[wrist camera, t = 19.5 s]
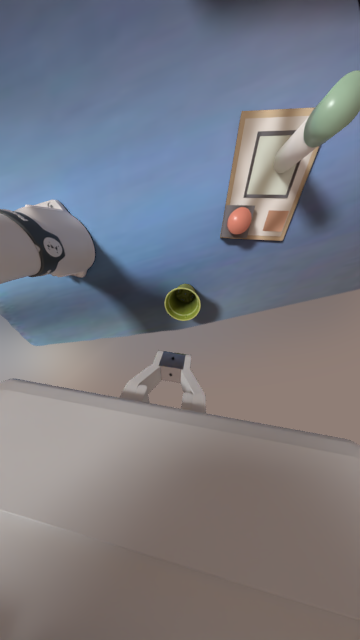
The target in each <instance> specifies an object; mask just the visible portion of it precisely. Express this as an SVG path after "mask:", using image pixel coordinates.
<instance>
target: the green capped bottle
mask: <svg viewBox="0 0 360 640" xmlns="http://www.w3.org/2000/svg"><path fill="white" fill-rule="evenodd" d="M359 110H360V71H353V72H350V73H348V74H347V75H345V76H344V77H343V78H341V79H340V80H339V81H338V82H337V83H336V84H335V86H334V87H333V88H332V89H331V90H330V91H329V92H328V94H327V95H326V96H325V97H324V98H323V99H322V100H321V102H320V103H319V104H318V105H317V106H316V107H315V108H314V110H313V111H312V112H311V114H310V115H309V117H308V118H307V119H306V120H305V121H304V122H303V123H302V125H301V126H300V127H299V128H298V129H297V130H296V131H295V132H294V134H293V135H292V136H291V137H290V138H289V139H288V140H287V141H286V143H285V144H284V145H283V146H282V147H281V148H280V149H279V151H278V152H277V154H276V156H275V158H274V163H273V166H274V170H275V171H276V172H277V173H284V172H286V171H287V170H289V169H290V168H291V167H293V166H294V165H295V164H296V163H298V162H299V161H300V160H302V159H303V158H304V157H305V156H307V155H308V154H309V153H311V152H312V151H313V150H314V149H316V148H317V147H318V146H320V145H322V144H323V143H325V142H326V141H327V140H329V139H330V138H331V137H333V136H334V135H335V134H337V133H338V132H339V131H340V130H342V129H343V128H344V127H346V126H347V125H348V124H349V123H350V122H351V121H352V120H353V119H354V118H355V116H356V115H357V114H358V112H359Z"/></svg>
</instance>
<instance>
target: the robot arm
mask: <svg viewBox="0 0 360 640" xmlns="http://www.w3.org/2000/svg"><path fill="white" fill-rule="evenodd" d="M94 259H95V248H94V244H93V241H92V239H91V237H90V235H89V233H88V231H87V230H86V228H85V227H84V226H83V225H82V224H81V223H80V222H79V221H78V220H77V219H76V218H75V217H73V216H72V215H71V214H70V213H68V212H67V210H66V209H65V208H64V206H63V205H62V204H61V203H60V202H59V201H58V200H49V201H46V202H43V203H40V204H37V205H25V207H22V208H20V209H17V210H15V211H10V210H5V209H0V284H1V283H5V282H8V281H12V280H15V279H19V278H23V277H27V276H29V277H36V276H43V275H46V274H51V275H52V276H58V277H63V276H68V275H74V276H77V277H85V275H86V272H87V269H88V268H89V267H91V265H92V264H93V262H94ZM190 365H191V355H187V354H180V353H172V352H166V351H158V352H157V354H156V357H155V359H154V362H153V364H152V365H150V366H148V367H147V368H146V369H144V370H143V371H142V372H140V373H139V374H138V375H136V376H135V377H134V378H132V379H131V380H130V381H128V382H127V384H126V386H125V388H124V390H123V392H122V394H121V396H120V397H119V398H117V397H112V396H106V395H101V394H96V393H90V392H84V391H79V390H73V389H69V388H63V387H58V386H52V385H47V384H41V383H36V382H30V381H25V380H20V379H8V380H5V381H3V382H0V640H360V446H359V445H358V444H357V443H355V442H353V441H351V440H347V439H343V438H338V437H332V436H327V435H321V434H316V433H310V432H305V431H299V430H293V429H288V428H283V427H277V426H272V425H266V424H261V423H255V422H250V421H244V420H239V419H233V418H228V417H222V416H217V415H211V414H206V395H205V394H204V392H203V390H202V388H201V386H200V385H199V383H198V381H197V379H196V378H195V376H194V374H193V373H192V371H190ZM161 380H165V381H172V382H177V383H180V384H181V386H182V389H183V391H184V393H183V399H182V406H181V409H179V408H173V407H167V406H162V405H157V404H151V403H149V397H148V394H149V393H150V392H151V391H152V390H153V389H154V388H155V387H156V386H157V385H158V383H159V382H160V381H161Z"/></svg>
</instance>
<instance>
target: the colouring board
mask: <svg viewBox="0 0 360 640" xmlns="http://www.w3.org/2000/svg"><path fill="white" fill-rule="evenodd" d="M313 110H314V108H298V109H278V110H259V111H242V113H241V117H240V123H239V129H238V135H237V141H236V147H235V153H234V158H233V164H232V170H231V176H230V182H229V188H228V194H227V200H226V206H225V211H224V217H223V223H222V229H221V235H220V238H232V239H255V240H277V241H283V238H284V236H285V233H286V230H287V228H288V225H289V223H290V220H291V218H292V215H293V213H294V210H295V207H296V205H297V202H298V200H299V197H300V195H301V192H302V190H303V187H304V184H305V182H306V179H307V177H308V174H309V172H310V169H311V166H312V164H313V161H314V159H315V156H316V154H317V151H318V149H319V146H318V147H317V148H316V149H314V150H313V151H312V152H311V153H309V154H308V155H307V156H305V157H304V158H303V159H302V160H300V161H299V162H298V163H296V164H295V165H294V166H293V167H291V168H290V169H289V170H287V171H286V172H284V173H277V172H276V171H275V170H274V166H273V163H274V158H275V156H276V154H277V152H278V151H279V149H280V148H281V147H282V146H283V145H284V144H285V143H286V141H287V140H288V139H289V138H290V137H291V136H292V135H293V134H294V132H295V131H296V130H297V129H298V128H299V127H300V126H301V125H302V123H303V122H304V121H305V120H306V119H307V118H308V117H309V115H310V114H311V112H312V111H313ZM240 207H245V208H247V209H249V211H250V212H251V216H252V219H251V223H250V226H249V227H248V229H247V230H246V231H245V232H243V233H241V234H232V233H230V232H229V231H228V229H227V220H228V217H229V216H230V214H231V213H232V212H233V211H234V210H236V209H237V208H240Z"/></svg>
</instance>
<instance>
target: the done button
mask: <svg viewBox="0 0 360 640" xmlns="http://www.w3.org/2000/svg"><path fill="white" fill-rule="evenodd" d="M251 219H252V216H251V212H250V211H249V209H247V208H245V207H240V208H237V209H236V210H234V211H233V212H232V213H231V214H230V216H229V217H228V220H227V229H228V231H229V232H230V233H232V234H241V233H243V232H245V231H246V230H247V229H248V227H249V226H250V223H251Z"/></svg>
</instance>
